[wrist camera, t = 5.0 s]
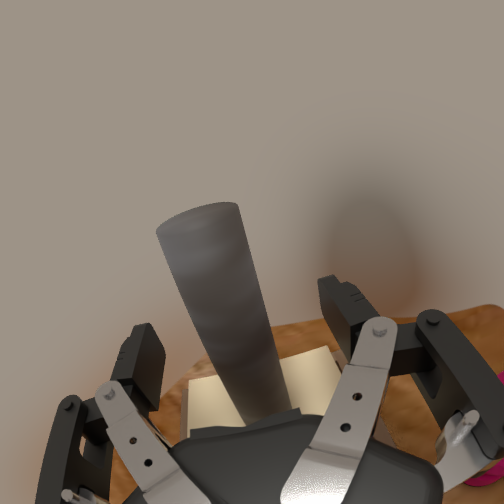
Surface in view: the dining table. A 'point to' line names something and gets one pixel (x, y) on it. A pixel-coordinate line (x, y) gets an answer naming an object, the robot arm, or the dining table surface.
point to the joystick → (236, 326)
